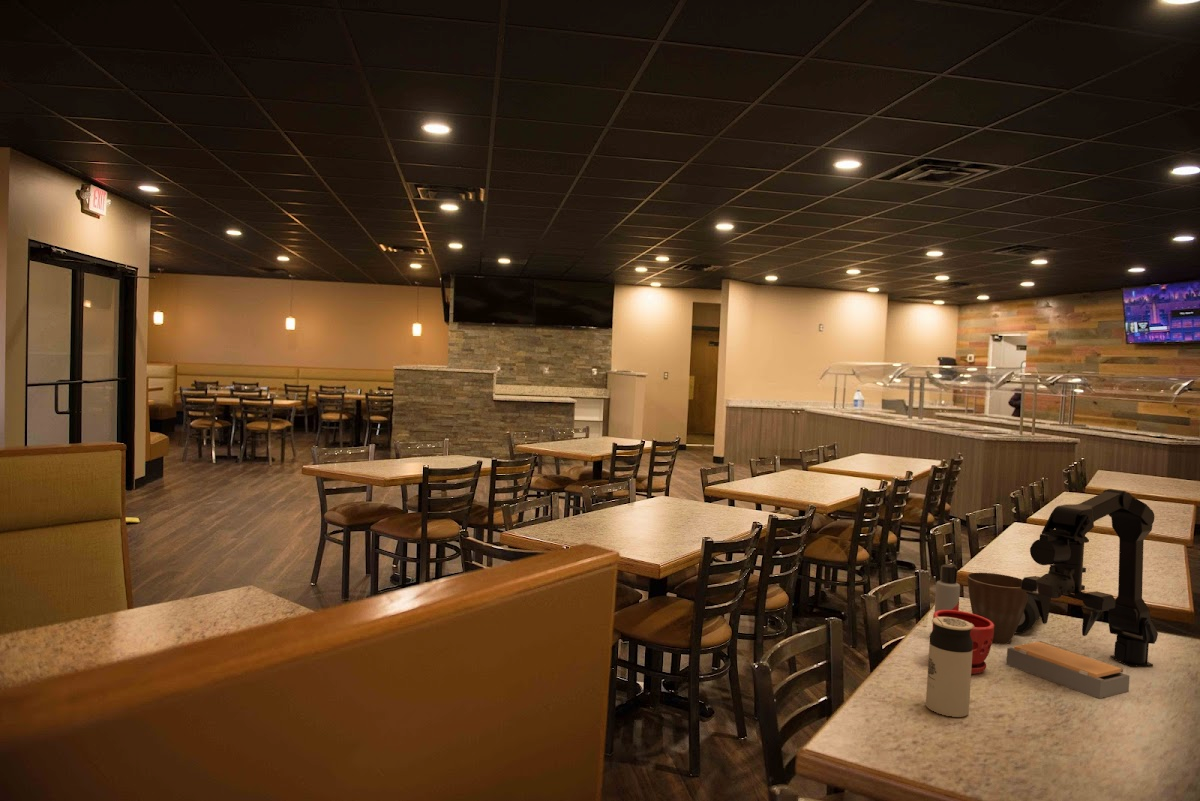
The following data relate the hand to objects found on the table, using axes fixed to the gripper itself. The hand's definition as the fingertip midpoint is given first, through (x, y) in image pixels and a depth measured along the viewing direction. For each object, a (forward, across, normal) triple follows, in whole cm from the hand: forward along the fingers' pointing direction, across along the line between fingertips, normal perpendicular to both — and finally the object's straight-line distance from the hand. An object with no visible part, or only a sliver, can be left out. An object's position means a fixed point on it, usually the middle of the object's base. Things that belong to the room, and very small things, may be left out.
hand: (1064, 629), depth 179 cm
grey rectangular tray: (+11, 0, +2) cm, 12 cm away
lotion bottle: (+12, -29, -3) cm, 31 cm away
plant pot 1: (+12, -14, -17) cm, 25 cm away
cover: (+7, 0, +2) cm, 8 cm away
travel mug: (+12, +2, -42) cm, 43 cm away
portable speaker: (+12, -31, +32) cm, 46 cm away
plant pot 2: (+12, -24, +11) cm, 29 cm away
